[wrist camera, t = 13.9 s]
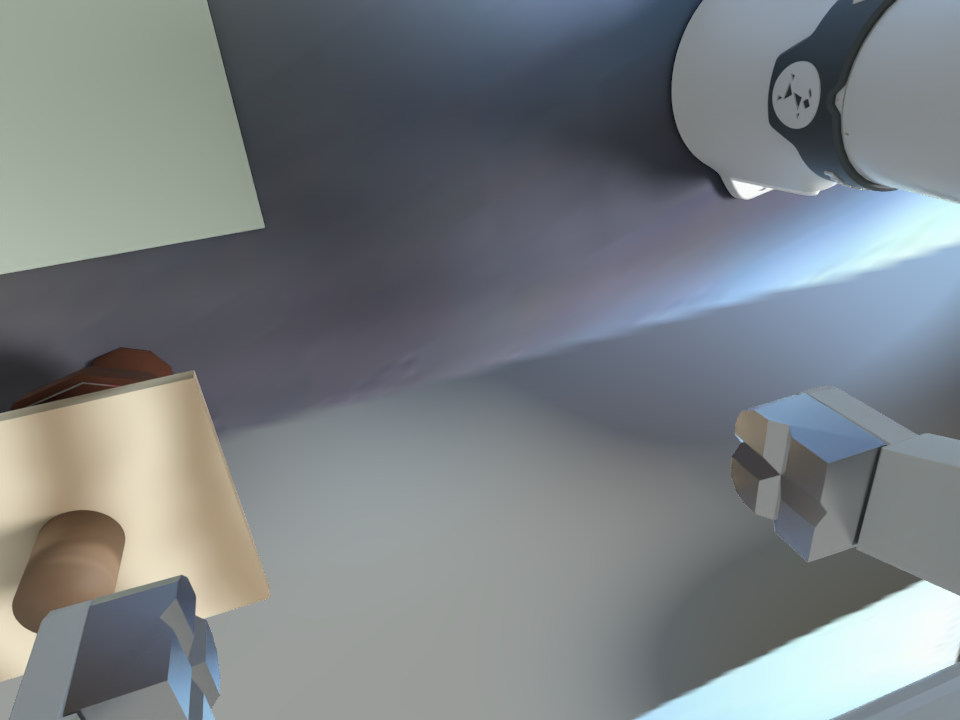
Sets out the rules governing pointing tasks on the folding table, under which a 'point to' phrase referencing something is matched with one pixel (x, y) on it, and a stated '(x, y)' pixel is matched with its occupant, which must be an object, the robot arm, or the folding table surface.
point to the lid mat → (115, 131)
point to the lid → (117, 507)
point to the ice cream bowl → (100, 377)
